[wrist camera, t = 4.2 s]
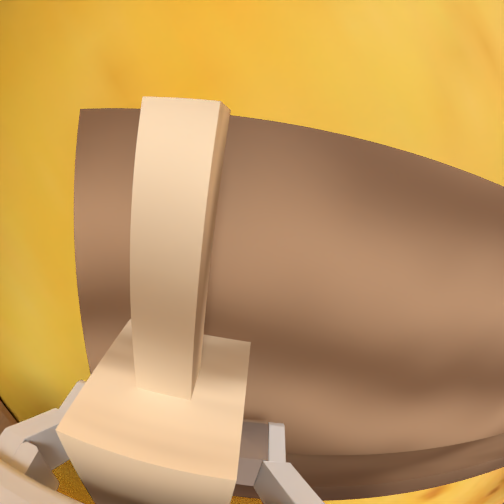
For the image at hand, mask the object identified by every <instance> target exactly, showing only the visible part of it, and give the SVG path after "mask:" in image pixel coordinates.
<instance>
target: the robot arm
mask: <svg viewBox="0 0 504 504" xmlns="http://www.w3.org/2000/svg"><path fill="white" fill-rule="evenodd" d="M85 383H86V381H83V380H80V381H78V382H77V383H76V384H75V386H74V387H73V389H72V390H71V392H70V393H69V394H68V396H67V397H66V399H65V400H64V402H63V403H62V405H61V406H60V408H59V409H57V408H54V409H51V410H49V411H46V412H44V413H42V414H39V415H37V416H34V417H32V418H30V419H27V420H25V421H22V422H20V423H17V424H15V425H12V426H9V427H7V428H5V429H4V431H3V432H2V433H1V435H0V504H84V503H82V502H79V501H77V500H75V499H73V498H70V497H68V496H66V495H64V494H62V493H60V492H57V489H58V486H59V481H58V480H57V478H56V477H55V475H54V474H53V472H52V470H53V469H55V468H56V467H58V466H60V465H61V464H63V463H64V462H66V461H68V460H69V457H68V455H67V453H66V451H65V449H64V447H63V445H62V443H61V441H60V439H59V437H58V435H57V432H56V430H55V429H56V428H57V426H58V425H59V423H60V421H61V420H62V418H63V417H64V415H65V413H66V412H67V410H68V409H69V407H70V406H71V404H72V403H73V401H74V400H75V398H76V397H77V395H78V393H79V392H80V390H81V389H82V387H83V386H84V384H85ZM236 484H241V485H248V486H254V489H255V491H256V492H257V494H258V496H259V497H260V499H261V501H262V502H263V504H325V503H324V502H323V501H322V500H321V499H320V498H319V496H318V495H317V494H316V493H315V492H314V491H313V490H312V488H311V487H310V486H309V485H308V484H307V482H306V481H305V480H304V479H303V478H302V476H301V475H300V474H299V473H298V472H297V470H296V469H295V468H294V467H293V466H292V464H291V463H288V462H286V451H285V426H284V424H283V423H273V422H266V421H256V420H248V419H243V424H242V434H241V443H240V453H239V462H238V472H237V481H236Z"/></svg>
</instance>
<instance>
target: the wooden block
mask: <svg viewBox="0 0 504 504" xmlns="http://www.w3.org/2000/svg"><path fill="white" fill-rule="evenodd" d="M15 424H17V421H16V420H15V419H14V418H13V416H12V415H11V414H10V413H9V411H8V410H7V409H6V407H5V406H4V405H3V403H2V402H1V401H0V435H1V433H2V432H3V431H4V429H5V428H7V427H9V426H12V425H15Z"/></svg>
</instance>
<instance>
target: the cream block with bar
mask: <svg viewBox="0 0 504 504" xmlns="http://www.w3.org/2000/svg"><path fill="white" fill-rule="evenodd" d="M230 111H231V110H230V109H229V108H228V107H227V106H225V105H224V104H223V103H222V102H221V101H212V100H201V99H187V98H169V97H143V98H142V105H141V112H140V119H139V127H138V135H137V144H136V153H135V164H134V175H133V189H132V205H131V229H130V303H131V319H130V320H129V321H128V323H127V324H126V325H125V327H124V328H123V329H122V331H121V332H120V334H119V335H118V337H117V338H116V339H115V341H114V342H113V344H112V345H111V346H110V348H109V349H108V351H107V352H106V354H105V355H104V356H103V358H102V359H101V361H100V362H99V364H98V365H97V367H96V368H95V370H94V371H93V373H92V374H91V375H90V377H89V378H88V380H87V381H86V383H85V384H84V386H83V387H82V389H81V390H80V392H79V393H78V395H77V397H76V398H75V400H74V401H73V403H72V404H71V406H70V407H69V409H68V410H67V412H66V413H65V415H64V417H63V418H62V420H61V421H60V423H59V425H58V426H57V428H56V429H55V430H56V432H57V435H58V437H59V439H60V441H61V443H62V445H63V447H64V449H65V451H66V453H67V455H68V457H69V459H70V461H71V463H72V465H73V467H74V468H75V470H76V472H77V474H78V476H79V477H80V479H81V481H82V483H83V484H84V486H85V488H86V489H87V491H88V493H89V494H90V496H91V497H92V499H93V501H94V502H95V504H230V502H231V499H232V495H233V491H234V488H235V484H236V481H237V472H238V462H239V453H240V443H241V434H242V424H243V414H244V405H245V395H246V385H247V375H248V365H249V355H250V345H251V342H246V341H240V340H233V339H227V338H221V337H215V336H210V335H204V323H205V312H206V302H207V292H208V282H209V272H210V263H211V254H212V245H213V236H214V228H215V219H216V211H217V203H218V195H219V188H220V180H221V173H222V165H223V158H224V151H225V144H226V137H227V130H228V124H229V117H230Z"/></svg>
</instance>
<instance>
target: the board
mask: <svg viewBox="0 0 504 504" xmlns="http://www.w3.org/2000/svg"><path fill="white" fill-rule="evenodd" d="M140 112H141V109H124V108H105V109H80V116H79V125H78V135H77V146H76V160H75V180H74V240H75V260H76V274H77V286H78V296H79V304H80V313H81V320H82V327H83V334H84V340H85V346H86V352H87V357H88V362H89V368H90V372H91V374H92V373H93V371H94V370H95V368H96V367H97V365H98V364H99V362H100V361H101V359H102V358H103V356H104V355H105V354H106V352H107V351H108V349H109V348H110V346H111V345H112V344H113V342H114V341H115V339H116V338H117V337H118V335H119V334H120V332H121V331H122V329H123V328H124V327H125V325H126V324H127V323H128V321H129V320H130V319H131V303H130V229H131V205H132V189H133V175H134V164H135V153H136V144H137V135H138V127H139V119H140ZM204 335H210V336H215V337H221V338H227V339H233V340H240V341H246V342H251V345H250V355H249V365H248V375H247V385H246V395H245V405H244V414H243V419H248V420H256V421H266V422H273V423H283V424H284V426H285V451H286V462H288V463H291V464H292V466H293V467H294V468H295V469H296V470H297V472H298V473H299V474H300V475H301V476H302V478H303V479H304V480H305V481H306V482H307V484H308V485H309V486H310V487H311V488H312V490H313V491H314V492H315V493H316V494H317V495H318V496H319V498H320V499H321V500H322V501H324V500H347V499H361V498H371V497H380V496H388V495H395V494H401V493H408V492H413V491H419V490H424V489H429V488H433V487H438V486H442V485H446V484H450V483H454V482H458V481H461V480H465V479H468V478H472V477H475V476H478V475H481V474H485V473H488V472H491V471H493V470H496V469H499V468H502V467H504V187H503V186H501V185H498V184H496V183H494V182H491V181H489V180H486V179H484V178H481V177H479V176H476V175H474V174H471V173H469V172H466V171H463V170H460V169H458V168H455V167H452V166H449V165H447V164H444V163H441V162H438V161H435V160H432V159H429V158H426V157H423V156H419V155H416V154H413V153H410V152H406V151H403V150H400V149H396V148H393V147H389V146H386V145H382V144H378V143H374V142H371V141H367V140H363V139H359V138H355V137H350V136H346V135H342V134H337V133H333V132H328V131H323V130H319V129H314V128H309V127H303V126H298V125H292V124H287V123H281V122H275V121H268V120H262V119H255V118H247V117H240V116H232V115H230V117H229V124H228V130H227V137H226V144H225V151H224V158H223V165H222V173H221V180H220V188H219V195H218V203H217V211H216V219H215V228H214V236H213V245H212V254H211V263H210V272H209V282H208V292H207V302H206V312H205V323H204ZM232 496H239V497H248V498H259V499H260V497H259V496H258V494H257V492H256V491H255V489H254V486H248V485H241V484H235V488H234V491H233V495H232Z"/></svg>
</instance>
